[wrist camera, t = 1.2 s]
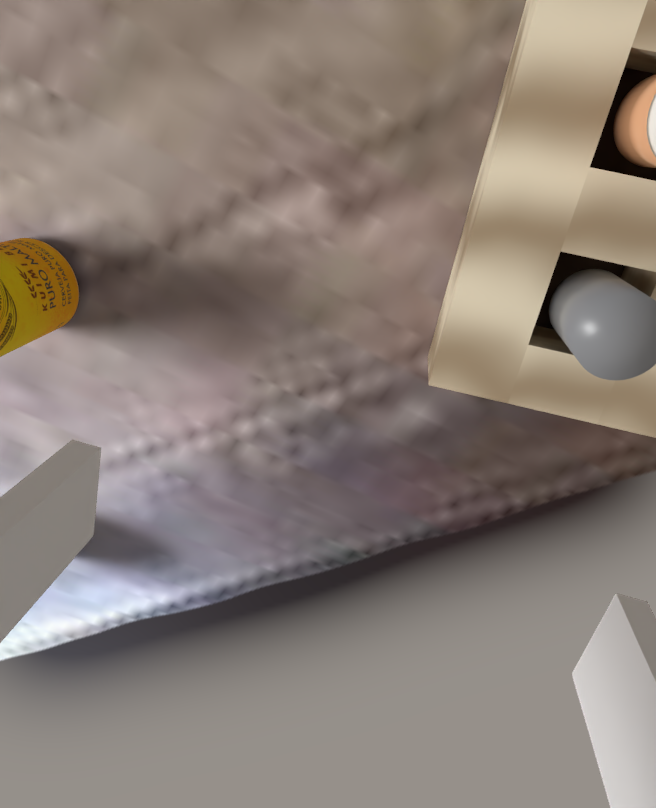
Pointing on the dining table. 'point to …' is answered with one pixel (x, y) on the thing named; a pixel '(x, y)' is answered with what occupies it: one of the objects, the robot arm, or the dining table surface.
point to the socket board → (551, 218)
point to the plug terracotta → (638, 124)
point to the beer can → (33, 292)
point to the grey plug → (605, 324)
